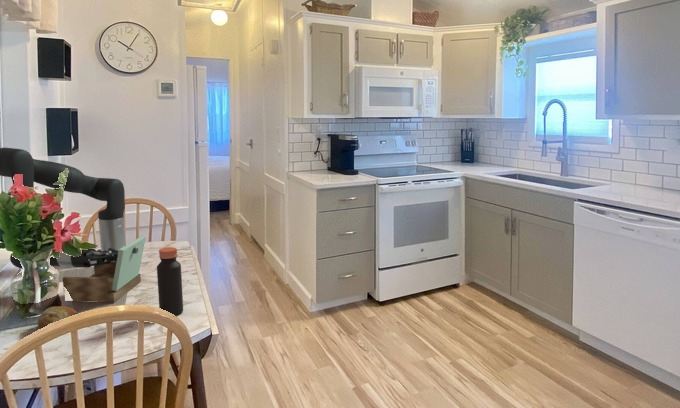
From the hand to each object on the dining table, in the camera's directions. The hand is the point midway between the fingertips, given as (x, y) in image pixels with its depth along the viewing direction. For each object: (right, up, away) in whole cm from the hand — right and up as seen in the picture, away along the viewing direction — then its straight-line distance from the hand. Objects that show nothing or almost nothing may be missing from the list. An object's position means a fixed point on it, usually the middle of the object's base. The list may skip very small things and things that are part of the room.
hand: (127, 257), depth 156 cm
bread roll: (-8, -17, -24) cm, 31 cm away
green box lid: (-1, -9, +2) cm, 9 cm away
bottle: (+20, -16, -14) cm, 28 cm away
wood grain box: (-9, -12, +3) cm, 15 cm away
